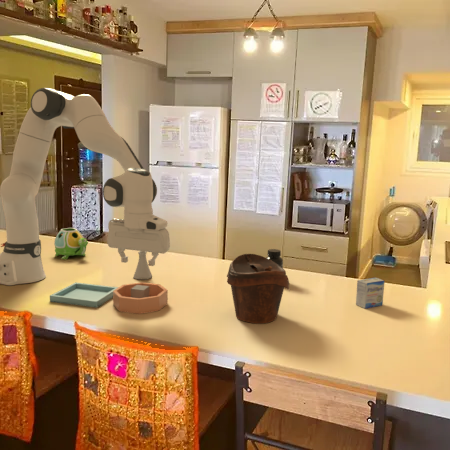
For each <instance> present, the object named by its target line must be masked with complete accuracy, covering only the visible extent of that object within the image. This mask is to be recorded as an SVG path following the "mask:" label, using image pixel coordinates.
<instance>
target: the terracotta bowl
mask: <svg viewBox="0 0 450 450" xmlns="http://www.w3.org/2000/svg"><path fill="white" fill-rule="evenodd" d="M136 285H143V286H149V294H150V297H145V298H132V297H131V288H133V287H134V286H136ZM117 287H118V288H117V289H115V290H114V291H113V298H112V304H113V306H114V307H115V309H117V310H118V311H119V312H121V313H123V312H124V313H129V314H130V313H131V314H135V315H139V314H140V315H141V314H146V313H153V312H159V311H161V310H162V309H163V308H164V307H165V306H166V305H168V304H169V303H168V293H169V292H168V289H167V288H165V287H164V286H163V285H161V284H159V283H154V282H153V283H150V282H135V283H128V284H127V283H125V284H122V285H120V286H117Z"/></svg>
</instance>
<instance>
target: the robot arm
mask: <svg viewBox="0 0 450 450" xmlns="http://www.w3.org/2000/svg"><path fill="white" fill-rule="evenodd" d="M59 127H62V128H63V129H74V130H75V133H76V135H77V138H78V140H79V141H80V143H81V145H83V146H84V147H85V148H86V149H88V150H90V151H92V152H95V153H99V154H102V155H105V156H109V157H111V158H112V159H114V160H116V161H117V162H118V163H119V164H120V166H121V168H122V169H123V171H124V172H123V173H122V174H119V175H117V176H115V177H110V178H108V179H106V181H105V182H104V185H103V186H102V187H103V188H102V197H103V200H104V202H105V203H106V204H107V205H108V206H109V207H112V208H124V209H123V210H124V211H123V219H122V218H119V219H118V218H112V219H111V220H109V221H108V233H107V240H106V242H107V245H108V247H109V248H112V249H117V253H118V254H119V256H120V257H121V260H120V261H121V263H128V261H129V256H127V255H126V253H125V251H126V250H130V251H136V252H139V251H145V252H147V253H151V256H152V258H150V259H149V260H147V263H148V266H149V267H154V266H156V259H157V258H158V256H159V254H166V253H168V252H169V250H170V247H171V241H170V232H169V231H168V229H167V227H168V221H167V220H165V219H163V218H161V217H159V216H157V215H155V214H153V213H154V212H153V211H154V210H153V206H152V205H153V202H154V201H155V199H156V197H157V194H158V187H157V185H156V182H155V180H154V179H153V177H152V173H151V172H150V171H148V170H147V169H145V168H144V167H143V165H142V164H141V161H139V159H138V157H137V156H136V154H135V152H134V150H133V149H132V148H131V146H130V145H129V143H128V142H127V141H126V140H125V139H124V138H123V136H120V134H119V133H118V132H116V131H115V129H114V128H113V127H112V126H111V124H110V123H109V120H108V119H107V116H106V114H105V112H104V110H103V109H102V107H101V106H100V104H99V102H98V101H97V100H96V98H94V97H93V96H92V95H90V94H85V93H83V94H78V95H76V96H74V95H72V94H69V93H67V92H63V91H60V90H57V89H54V88H49V87H41V88H39V89H38V88H37V89H36V90H35V92H33V95H32V97H31V98H30V107H29V109H28V110H27V112H26V114H25V116H24V118H23V120H22V123H21V125H20V128H19V132H18V136H17V140H16V142H15V145H14V149H13V152H12V162H11V167H10V171H9V175H8V176H7V177H6V178H4V180H2V182H1V184H0V199H1V205H2V210H3V214H4V218H5V219H4V220H5V231H6V241H5V242H2V243H0V247H1V248H3V250H2V251H1V253H0V284H1V285H4V286H5V285H6V286H14V285H21V284H29V283H35V282H39V281H41V280H44V279H45V278H46V277H47V275H46V273H45V270H44V266H43V260H42V255H41V254H42V241H41V239H40V225H39V217H38V212H37V206H36V196H37V195H38V193H39V191H40V187H41V183H42V180H43V174H44V171H45V167H46V166H45V165H46V160H47V158H48V154H49V153H50V152H49V151H50V148H51V144H52V141H53V138H54V134H55V131H56V130H57V128H59Z"/></svg>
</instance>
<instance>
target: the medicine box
mask: <svg viewBox="0 0 450 450" xmlns="http://www.w3.org/2000/svg"><path fill="white" fill-rule="evenodd" d="M384 290H385V280H383V279H381V278H379V277H371V278H365V279H364V278H363V279H358V280H357V282H356V297H355V305H356V306H358V307H360V308H363V309H364V310H365V309H371V308H375V307H380V306H381V307H382V306H383V305H384V304H383V303H384V293H385V292H384Z"/></svg>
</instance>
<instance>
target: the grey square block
mask: <svg viewBox="0 0 450 450" xmlns="http://www.w3.org/2000/svg"><path fill="white" fill-rule="evenodd" d="M131 297H132V298H145V297H150V294H149V286H143V285H136V286H134V287H133V288H131Z"/></svg>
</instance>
